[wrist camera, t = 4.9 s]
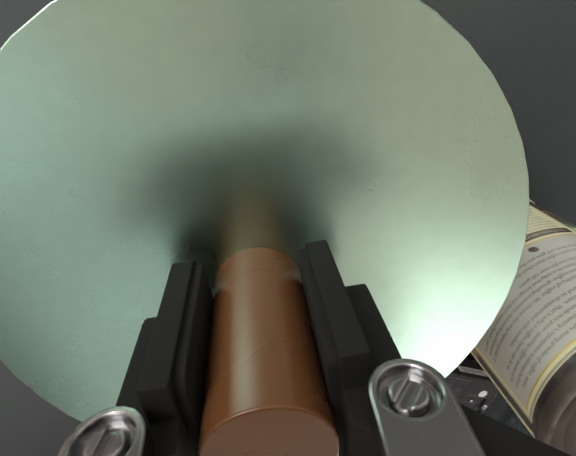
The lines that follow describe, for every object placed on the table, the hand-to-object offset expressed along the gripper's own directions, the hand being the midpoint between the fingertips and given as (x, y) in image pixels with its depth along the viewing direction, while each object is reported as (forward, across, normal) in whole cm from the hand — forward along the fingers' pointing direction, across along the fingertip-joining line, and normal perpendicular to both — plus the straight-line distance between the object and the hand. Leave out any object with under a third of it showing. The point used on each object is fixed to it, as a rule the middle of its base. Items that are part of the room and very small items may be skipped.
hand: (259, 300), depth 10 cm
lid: (+1, 0, 0) cm, 1 cm away
